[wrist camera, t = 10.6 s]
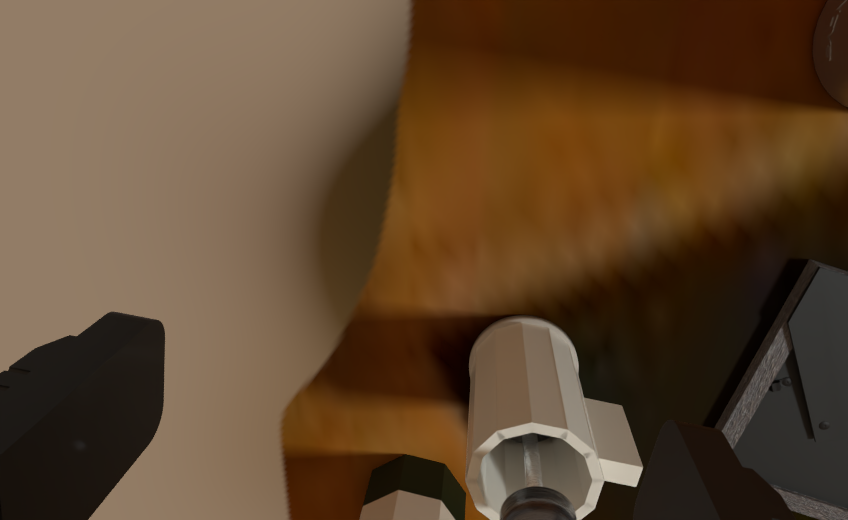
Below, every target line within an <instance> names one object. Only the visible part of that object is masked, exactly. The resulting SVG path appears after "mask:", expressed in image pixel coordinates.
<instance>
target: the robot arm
mask: <svg viewBox="0 0 848 520" xmlns="http://www.w3.org/2000/svg"><path fill="white" fill-rule="evenodd" d="M813 59H814V65H815V70H816V73H817V75H818V77H819V80H820V82H821V84H822V86H823V87H824V88H825V89H826V91H827V92H828V93H829V94H830V96H831V97H833V98H834V99H835V100H836V101H838V102H839V103H840V104H842V105H843V106H845V107H848V0H828V1H827V2H826V4H825V6H824V8H823V10H822V12H821V14H820V17H819V19H818V22H817V26H816V29H815V33H814V38H813ZM164 352H165V331H164V327H163V324H162V323H161V322H160V321H159V320H154V319H149V318H144V317H139V316H134V315H129V314H123V313H118V312H110V313H107V314H106V315H104V316H103V317H102V318H101V319H99V320H98V321H97V322H95V323H94V324H93V325H91V326H90V327H89V328H88V329H86V330H85V331H83V332H82V333H81V334H79V335H78V336H71V335H69V336H67V337H64V338H61V339H59V340H56V341H54V342H51V343H48V344H45V345H43V346H40V347H37V348H35V349H34V350H32V351H31V352H29V353H28V354H27V355H25V356H24V357H22V358H21V359H20V360H18V361H17V362H16V363H14V364H13V365H11V366H10V367H9V370H8V371H3V372H1V373H0V520H88V519H89V518H90V516H91V515H92V514H93V513H94V512H95V510H96V509H97V508H98V507H99V505H100V504H101V503H102V502H103V500H104V499H105V497H106V496H107V495H108V494H109V493H110V492H111V490H112V489H113V488H114V487H115V486H116V484H117V483H118V482H119V481H120V479H121V478H122V477H123V476H124V474H125V473H126V472H127V471H128V470H129V468H130V467H131V466H132V465H133V463H134V462H135V461H136V460H137V458H138V457H139V456H140V455H141V453H142V452H143V451H144V450H145V449H146V447H147V446H148V445H149V443H150V442H151V440H152V439H153V437H154V435H155V433H156V431H157V428H158V426H159V423H160V420H161V416H162V411H163V401H164V399H163V398H164V354H165V353H164ZM633 520H796V519H795V517H794V516H793V514H792V512H791V511H790V509H789V507H788V506H787V504H786V502H785V501H784V499H783V498H782V496H781V495H780V494H779V493H778V492H777V491H776V490H775V489H774V488H773V487H772V486H771V485H769V484H768V483H767V482H766V481H765V480H764V479H763V478H762V477H761V476H760V475H759V474H758V473H757V472H755V471H754V470H753V469H750V468H745V467H742V465H741V463H740V462H739V460H738V458H737V456H736V454H735V453H734V451H733V449H732V447H731V446H730V444H729V442H728V440H727V438H726V437H725V435H724V434H723V432H722V431H721V430H719V429H716V428H710V427H705V426H700V425H695V424H690V423H684V422H679V421H674V420H668V421H667V422H666V423H665V424H664V425H663V427H662V428H661V431H660V433H659V436H658V439H657V442H656V444H655V447H654V450H653V453H652V456H651V459H650V462H649V465H648V468H647V470H646V473H645V476H644V479H643V482H642V485H641V488H640V491H639V494H638V496H637V500H636V504H635V509H634V518H633Z"/></svg>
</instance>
